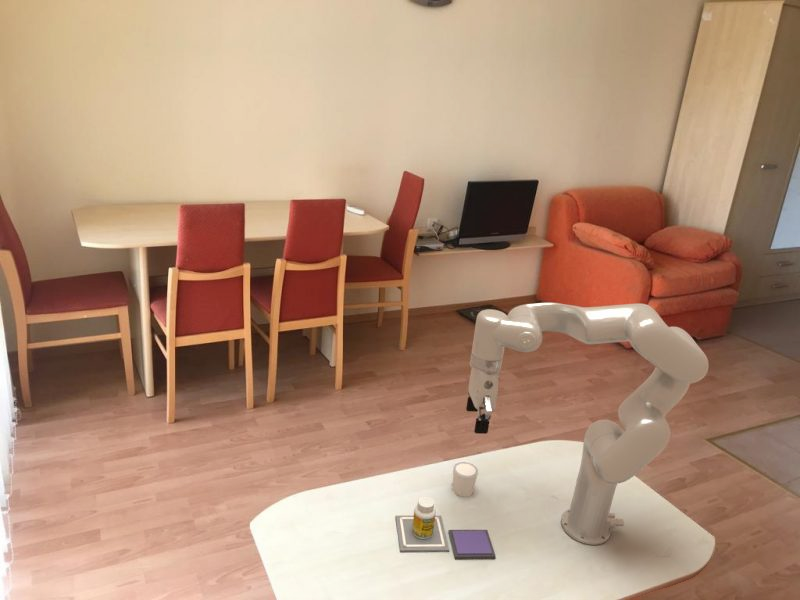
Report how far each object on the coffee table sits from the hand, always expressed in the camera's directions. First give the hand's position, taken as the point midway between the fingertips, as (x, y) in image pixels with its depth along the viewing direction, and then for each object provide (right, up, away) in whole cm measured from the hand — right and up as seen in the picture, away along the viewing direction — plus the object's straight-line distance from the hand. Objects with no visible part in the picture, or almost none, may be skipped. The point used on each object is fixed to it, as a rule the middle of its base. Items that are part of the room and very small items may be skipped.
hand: (476, 421), depth 157 cm
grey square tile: (-14, -29, +2) cm, 32 cm away
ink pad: (-1, -31, 0) cm, 31 cm away
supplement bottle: (-13, -28, +2) cm, 31 cm away
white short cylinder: (-2, -23, +19) cm, 30 cm away
